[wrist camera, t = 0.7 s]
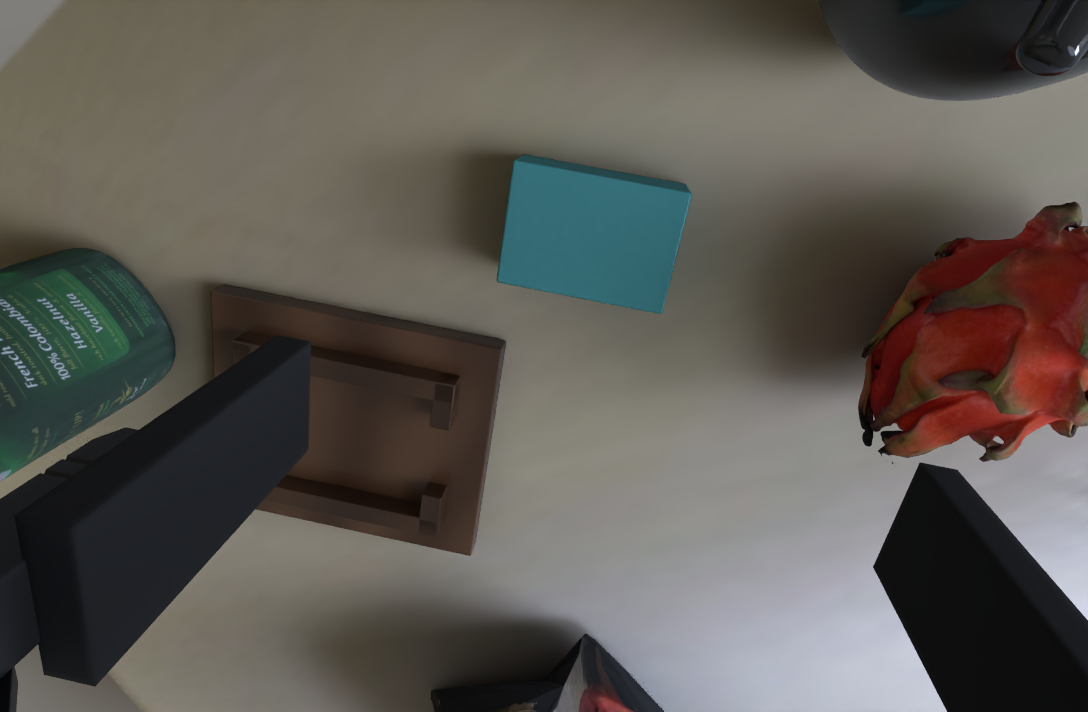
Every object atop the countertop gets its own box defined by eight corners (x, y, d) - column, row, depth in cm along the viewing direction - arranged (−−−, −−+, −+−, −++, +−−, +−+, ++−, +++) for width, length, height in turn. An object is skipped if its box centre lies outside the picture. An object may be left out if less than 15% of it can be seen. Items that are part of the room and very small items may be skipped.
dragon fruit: (1099, 214, 27) (841, 371, 33) (1064, 103, 22) (761, 316, 27) (1280, 376, 22) (940, 528, 28) (1295, 287, 17) (867, 500, 22)
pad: (506, 267, 30) (496, 282, 27) (523, 153, 28) (513, 159, 25) (659, 296, 29) (661, 314, 27) (686, 184, 27) (692, 192, 25)
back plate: (230, 489, 36) (204, 514, 34) (224, 283, 32) (194, 297, 30) (475, 542, 36) (465, 572, 33) (506, 340, 31) (497, 359, 29)
